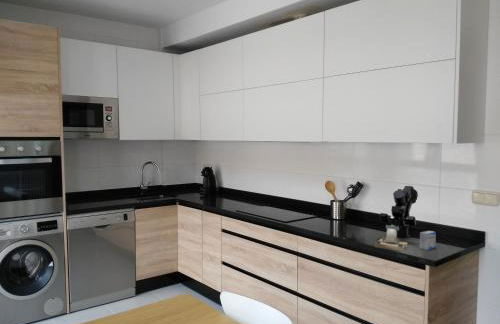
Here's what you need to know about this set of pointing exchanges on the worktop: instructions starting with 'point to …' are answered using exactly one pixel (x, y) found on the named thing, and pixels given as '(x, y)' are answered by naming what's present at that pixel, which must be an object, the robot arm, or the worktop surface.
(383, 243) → the tribrach base
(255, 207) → the worktop surface
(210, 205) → the worktop surface
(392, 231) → the white plastic container
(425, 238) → the medicine box
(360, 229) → the worktop surface
